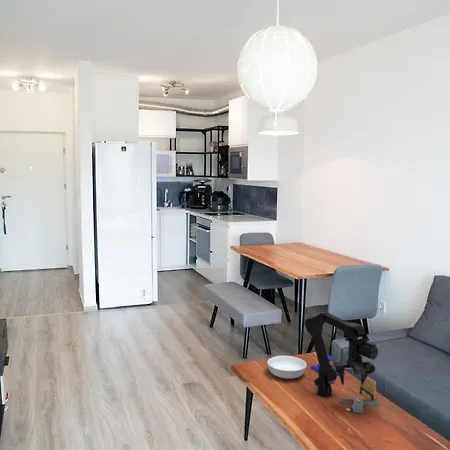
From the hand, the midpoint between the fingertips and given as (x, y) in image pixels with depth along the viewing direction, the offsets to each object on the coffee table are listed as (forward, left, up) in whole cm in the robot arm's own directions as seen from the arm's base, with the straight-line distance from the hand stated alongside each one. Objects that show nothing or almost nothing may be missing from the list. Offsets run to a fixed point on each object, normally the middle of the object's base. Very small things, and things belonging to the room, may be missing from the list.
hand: (352, 384), depth 214 cm
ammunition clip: (+10, +11, -13) cm, 19 cm away
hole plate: (+5, -2, -12) cm, 13 cm away
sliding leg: (+3, -1, -11) cm, 11 cm away
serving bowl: (-29, +33, -13) cm, 46 cm away
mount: (-8, +41, -13) cm, 44 cm away
